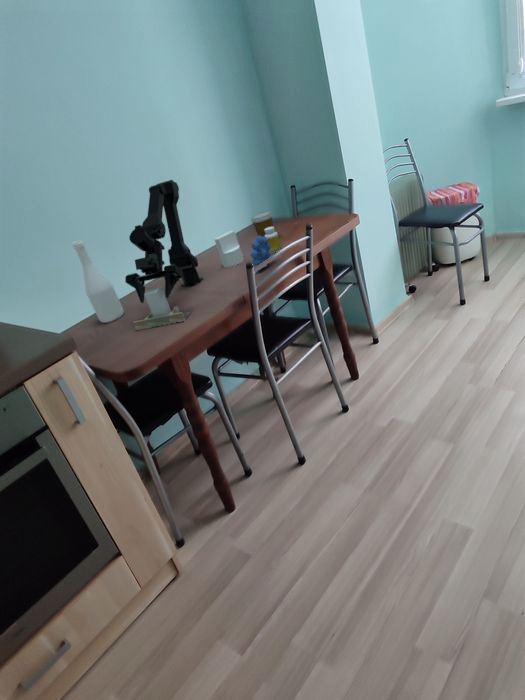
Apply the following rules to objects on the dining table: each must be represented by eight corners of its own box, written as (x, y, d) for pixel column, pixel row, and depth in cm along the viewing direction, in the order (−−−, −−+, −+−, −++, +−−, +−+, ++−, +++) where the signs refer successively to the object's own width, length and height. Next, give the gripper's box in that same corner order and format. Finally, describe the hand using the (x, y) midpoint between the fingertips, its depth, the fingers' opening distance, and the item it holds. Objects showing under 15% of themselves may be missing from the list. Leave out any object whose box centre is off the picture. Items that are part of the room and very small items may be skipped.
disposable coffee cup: (282, 236, 213) (275, 209, 207) (271, 244, 206) (264, 217, 201) (264, 238, 218) (257, 212, 213) (253, 246, 212) (245, 219, 206)
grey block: (161, 318, 166) (149, 289, 161) (173, 315, 165) (161, 286, 160) (156, 324, 163) (144, 294, 158) (168, 321, 161) (156, 291, 156)
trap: (144, 321, 168) (140, 313, 167) (191, 311, 163) (188, 303, 162) (136, 330, 163) (132, 322, 161) (184, 321, 158) (181, 313, 156)
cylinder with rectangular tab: (231, 268, 193) (222, 239, 188) (218, 266, 200) (209, 239, 194) (248, 259, 198) (239, 230, 192) (235, 258, 204) (226, 230, 199)
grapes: (264, 261, 189) (256, 232, 183) (278, 260, 185) (270, 230, 179) (247, 274, 181) (238, 243, 176) (261, 273, 177) (252, 242, 172)
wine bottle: (99, 319, 184) (62, 244, 171) (122, 309, 187) (88, 234, 173) (101, 326, 176) (63, 248, 163) (126, 315, 179) (91, 238, 165)
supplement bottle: (280, 252, 193) (274, 228, 189) (268, 254, 195) (261, 231, 191) (282, 247, 198) (276, 224, 194) (270, 250, 200) (263, 227, 195)
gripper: (115, 252, 159) (115, 297, 154) (166, 240, 153) (167, 285, 149) (134, 266, 169) (134, 308, 164) (182, 255, 164) (184, 298, 159)
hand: (154, 300), depth 159 cm, fingers open, 9 cm apart
